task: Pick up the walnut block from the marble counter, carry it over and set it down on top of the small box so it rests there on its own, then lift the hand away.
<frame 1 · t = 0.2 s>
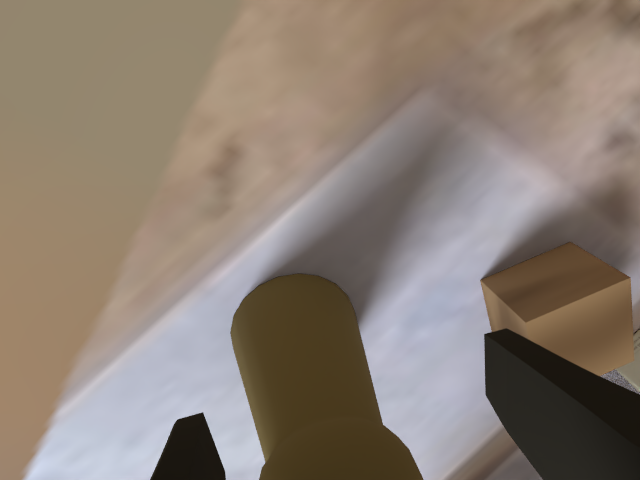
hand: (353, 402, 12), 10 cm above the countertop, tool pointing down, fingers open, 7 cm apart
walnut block: (530, 298, 25), on the countertop
cork: (293, 327, 23), on the countertop
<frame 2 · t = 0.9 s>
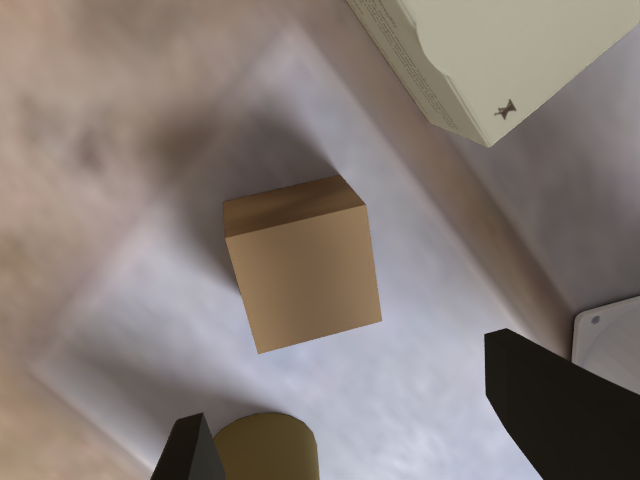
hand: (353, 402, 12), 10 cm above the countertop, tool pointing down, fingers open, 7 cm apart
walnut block: (293, 239, 21), on the countertop
cork: (261, 453, 26), on the countertop
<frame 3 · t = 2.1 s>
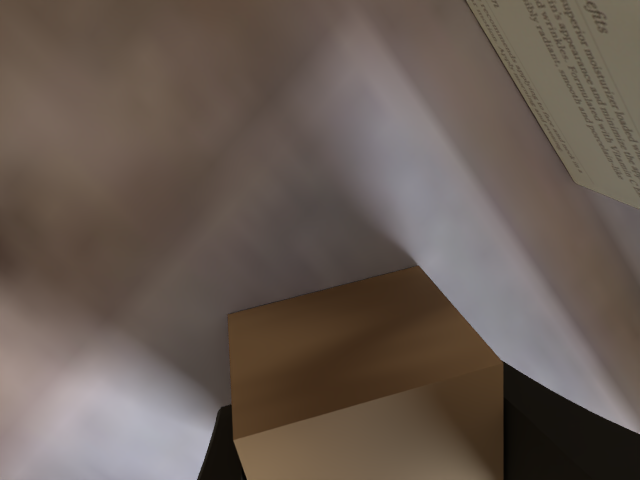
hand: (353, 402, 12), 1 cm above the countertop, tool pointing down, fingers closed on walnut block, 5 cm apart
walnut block: (340, 366, 13), on the countertop, touching gripper
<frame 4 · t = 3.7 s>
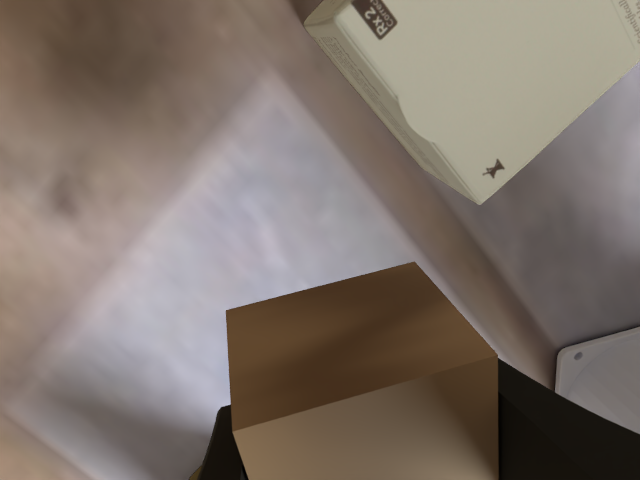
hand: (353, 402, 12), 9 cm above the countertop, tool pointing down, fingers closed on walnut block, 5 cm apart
small box: (436, 30, 18), on the countertop
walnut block: (337, 361, 13), point 8 cm above the countertop, touching gripper
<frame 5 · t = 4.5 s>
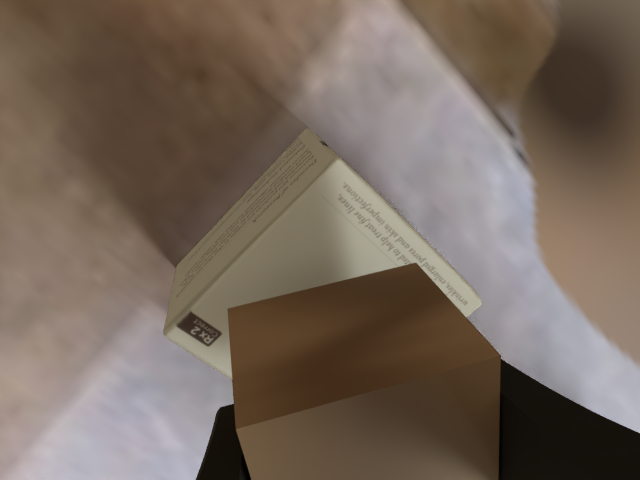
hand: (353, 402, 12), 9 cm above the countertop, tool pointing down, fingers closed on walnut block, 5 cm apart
small box: (305, 253, 20), on the countertop
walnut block: (337, 361, 13), point 7 cm above the countertop, touching gripper
when the fingers open (8 cm above the countertop, at t = 5.2 s): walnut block drops 1 cm, resting on small box.
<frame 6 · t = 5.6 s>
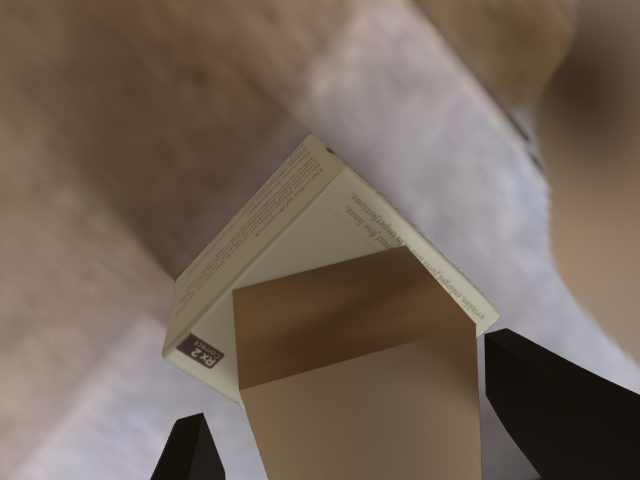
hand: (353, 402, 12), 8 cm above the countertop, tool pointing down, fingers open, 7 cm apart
small box: (311, 263, 19), on the countertop, touching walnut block
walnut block: (335, 338, 14), point 5 cm above the countertop, touching small box
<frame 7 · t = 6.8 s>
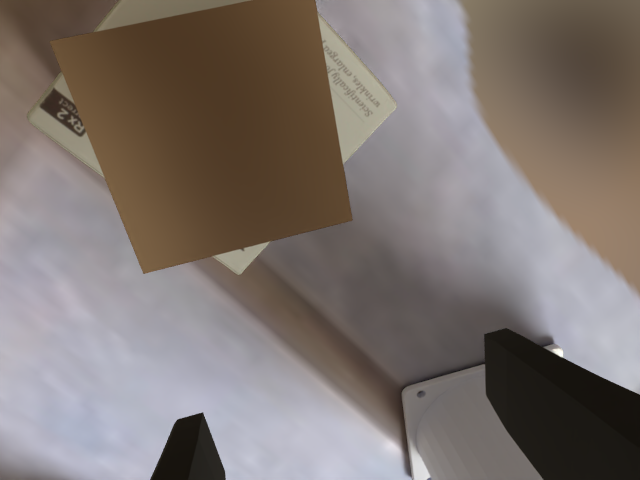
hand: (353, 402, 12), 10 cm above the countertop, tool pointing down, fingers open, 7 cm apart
small box: (222, 93, 18), on the countertop, touching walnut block
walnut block: (220, 112, 14), point 5 cm above the countertop, touching small box
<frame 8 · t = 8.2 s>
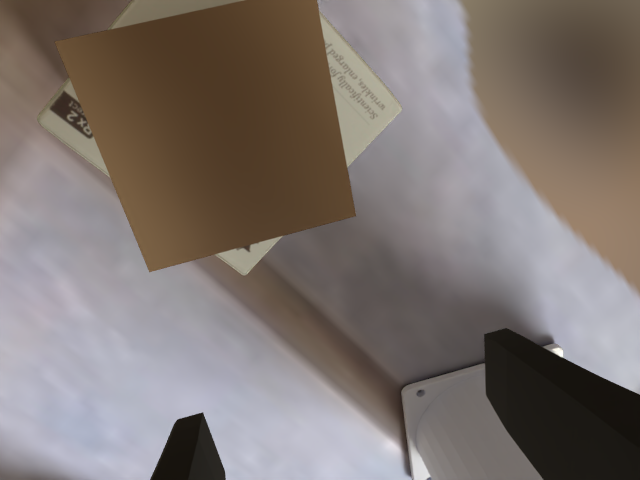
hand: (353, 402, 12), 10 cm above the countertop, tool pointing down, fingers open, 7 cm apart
small box: (228, 95, 19), on the countertop, touching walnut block
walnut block: (222, 112, 14), point 5 cm above the countertop, touching small box
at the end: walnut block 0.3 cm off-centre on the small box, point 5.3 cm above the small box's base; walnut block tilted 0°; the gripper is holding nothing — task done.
